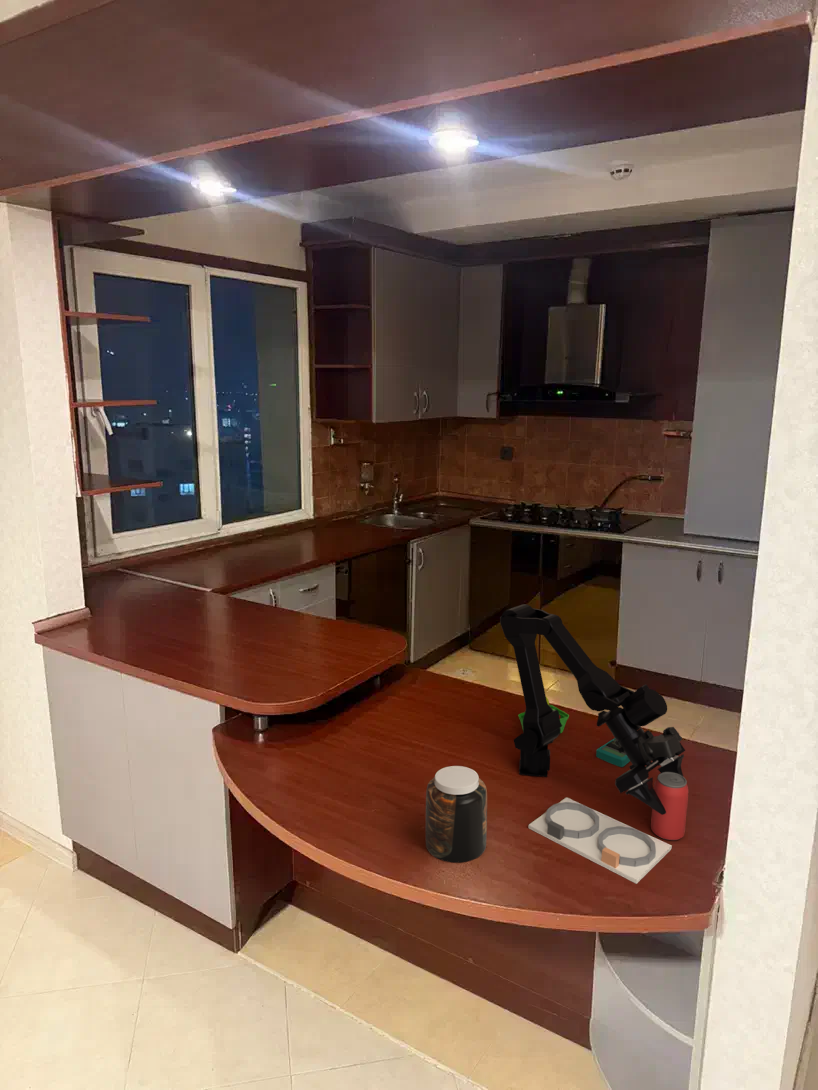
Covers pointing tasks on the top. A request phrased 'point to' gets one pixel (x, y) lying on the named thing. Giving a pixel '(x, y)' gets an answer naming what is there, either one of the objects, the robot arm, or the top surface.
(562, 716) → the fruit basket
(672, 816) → the beer can
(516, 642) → the robot arm
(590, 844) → the board
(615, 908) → the top surface
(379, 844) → the top surface
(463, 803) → the jar
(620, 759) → the digital multimeter
